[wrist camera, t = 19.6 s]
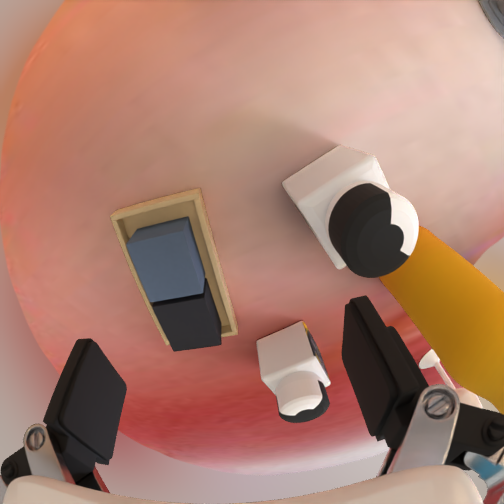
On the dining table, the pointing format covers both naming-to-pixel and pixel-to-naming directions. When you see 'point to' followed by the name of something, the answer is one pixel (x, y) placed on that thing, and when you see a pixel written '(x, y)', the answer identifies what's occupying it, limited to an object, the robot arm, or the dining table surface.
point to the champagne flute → (463, 394)
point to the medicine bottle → (294, 373)
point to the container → (355, 212)
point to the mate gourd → (494, 13)
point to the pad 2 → (190, 320)
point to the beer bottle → (454, 314)
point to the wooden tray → (194, 207)
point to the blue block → (167, 260)
